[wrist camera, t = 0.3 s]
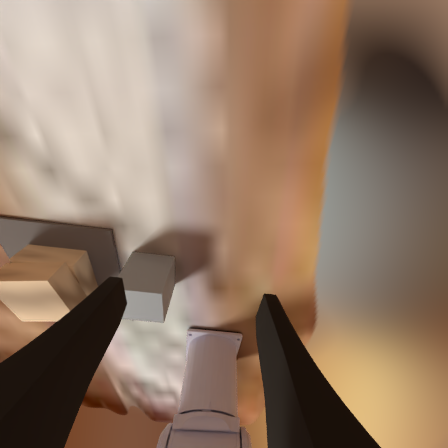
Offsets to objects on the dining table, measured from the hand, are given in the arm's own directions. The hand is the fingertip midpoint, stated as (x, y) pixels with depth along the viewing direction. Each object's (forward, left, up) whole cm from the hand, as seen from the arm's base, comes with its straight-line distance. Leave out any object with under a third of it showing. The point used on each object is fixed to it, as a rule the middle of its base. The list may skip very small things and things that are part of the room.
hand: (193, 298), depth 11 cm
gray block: (-9, +6, -10) cm, 14 cm away
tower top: (-10, +16, -7) cm, 20 cm away
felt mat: (-10, +16, -10) cm, 21 cm away
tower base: (-10, +16, -10) cm, 21 cm away
